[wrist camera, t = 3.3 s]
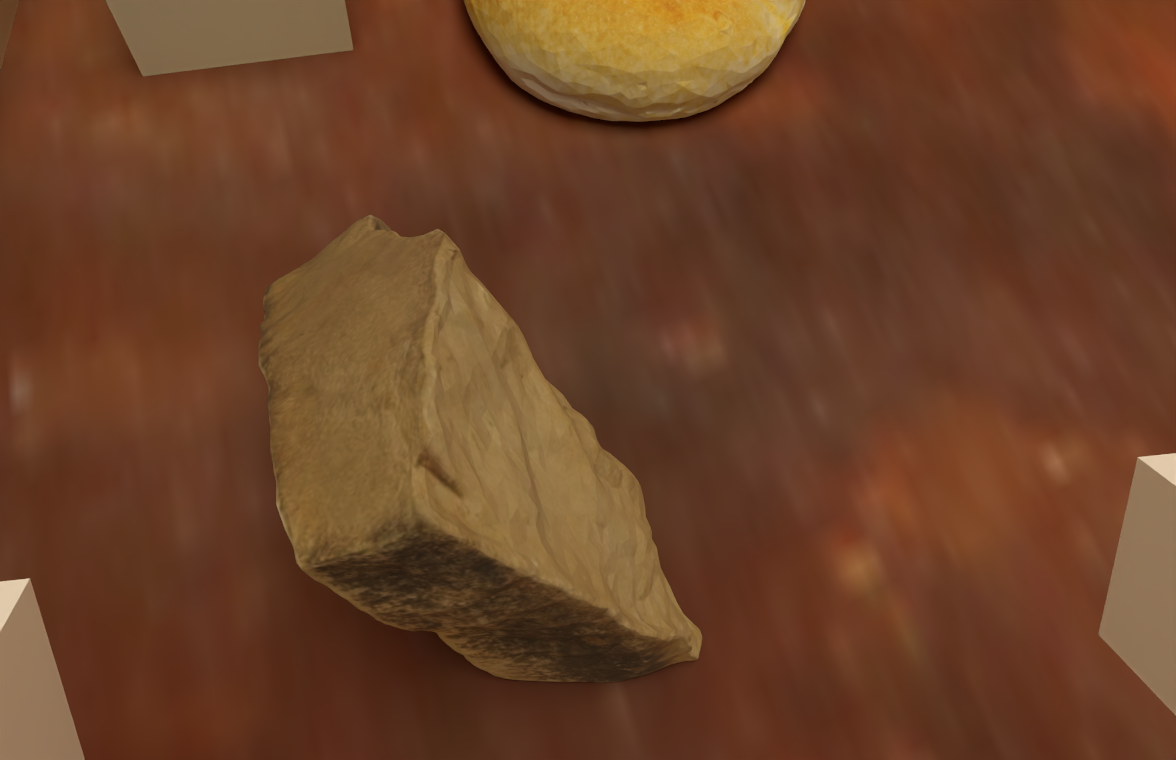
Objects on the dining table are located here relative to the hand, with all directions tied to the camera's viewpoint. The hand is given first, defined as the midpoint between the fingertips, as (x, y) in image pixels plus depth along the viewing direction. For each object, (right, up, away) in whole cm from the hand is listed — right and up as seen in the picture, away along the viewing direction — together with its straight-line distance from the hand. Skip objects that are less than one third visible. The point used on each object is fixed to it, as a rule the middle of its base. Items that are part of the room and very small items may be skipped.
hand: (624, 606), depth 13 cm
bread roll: (+1, +13, +15) cm, 20 cm away
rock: (-3, +1, +10) cm, 11 cm away
